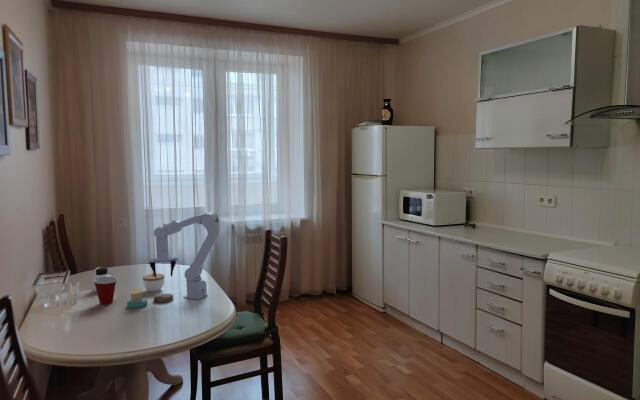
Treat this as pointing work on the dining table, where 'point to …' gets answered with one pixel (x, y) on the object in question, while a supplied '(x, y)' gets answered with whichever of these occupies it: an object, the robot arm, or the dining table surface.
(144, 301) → the stand
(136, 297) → the block
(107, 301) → the plastic cup
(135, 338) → the dining table surface
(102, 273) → the medicine bottle
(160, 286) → the lidded jar
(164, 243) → the robot arm
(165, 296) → the stand
